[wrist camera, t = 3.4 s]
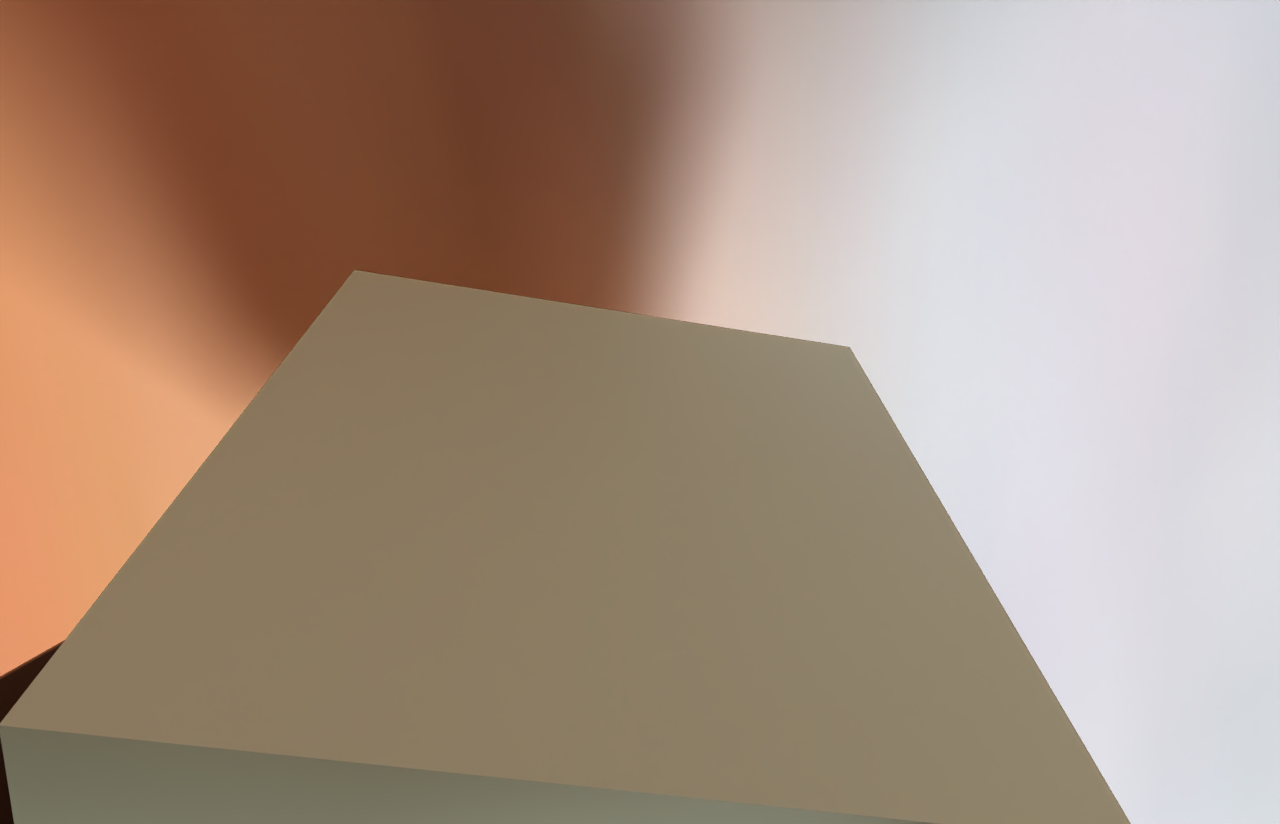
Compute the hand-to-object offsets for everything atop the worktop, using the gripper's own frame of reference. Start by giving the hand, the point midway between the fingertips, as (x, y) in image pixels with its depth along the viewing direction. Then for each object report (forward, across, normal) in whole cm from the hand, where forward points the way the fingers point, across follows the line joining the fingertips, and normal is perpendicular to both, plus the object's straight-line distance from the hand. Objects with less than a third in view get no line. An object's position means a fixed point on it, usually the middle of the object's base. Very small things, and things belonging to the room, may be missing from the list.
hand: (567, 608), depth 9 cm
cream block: (+2, 0, 0) cm, 2 cm away
